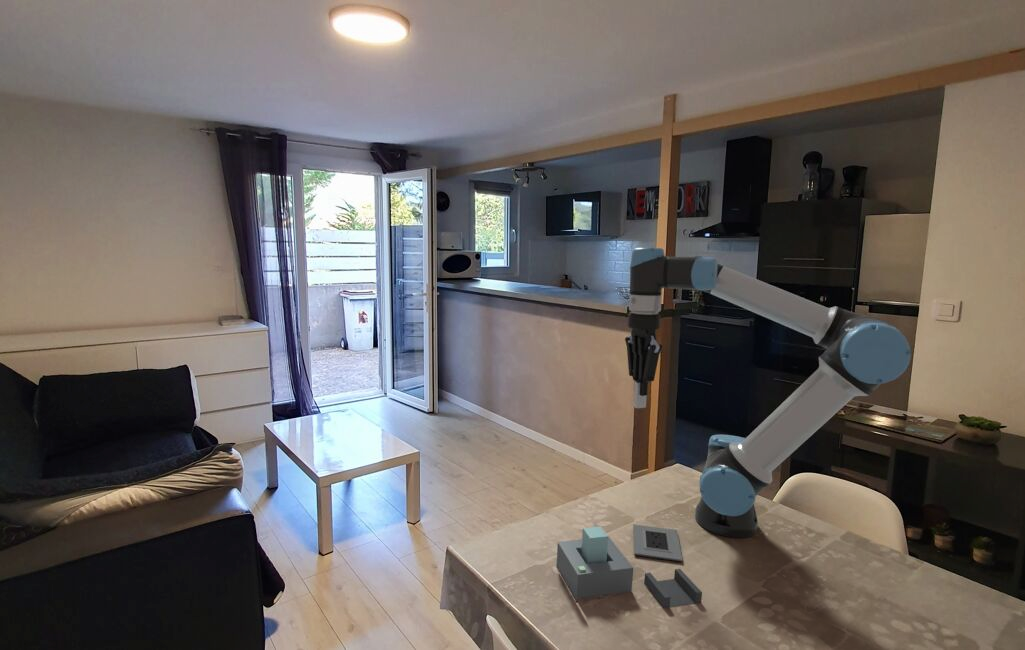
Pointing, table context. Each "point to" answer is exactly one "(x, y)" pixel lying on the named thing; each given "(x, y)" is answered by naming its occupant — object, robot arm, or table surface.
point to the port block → (593, 571)
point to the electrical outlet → (656, 543)
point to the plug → (594, 545)
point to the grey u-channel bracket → (674, 590)
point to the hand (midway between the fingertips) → (639, 407)
